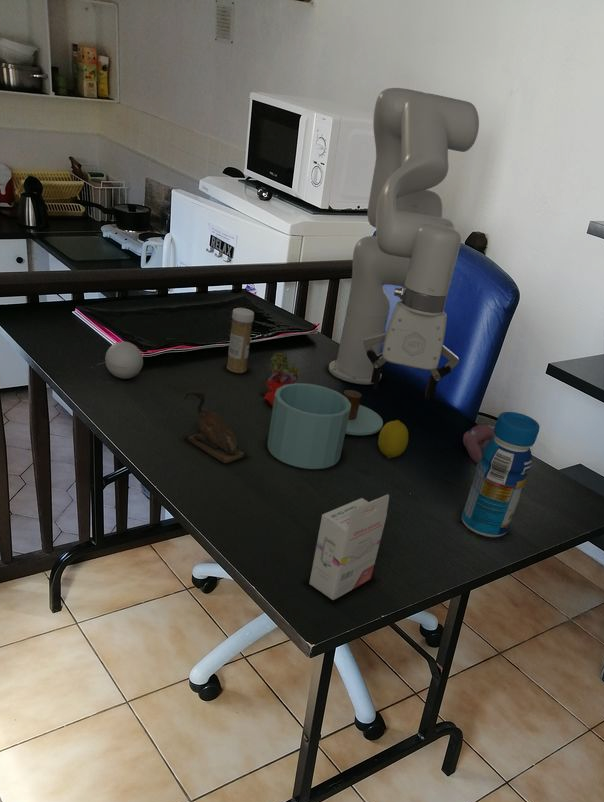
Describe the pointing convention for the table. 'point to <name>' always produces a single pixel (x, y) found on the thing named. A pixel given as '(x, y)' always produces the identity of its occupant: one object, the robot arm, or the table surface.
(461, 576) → the table surface
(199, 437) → the figurine
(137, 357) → the white sphere
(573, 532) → the table surface
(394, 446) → the lemon
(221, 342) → the table surface
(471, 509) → the beverage bottle
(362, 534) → the ink cartridge box
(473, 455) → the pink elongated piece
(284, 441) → the pot
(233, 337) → the sprinkles bottle
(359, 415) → the lid
